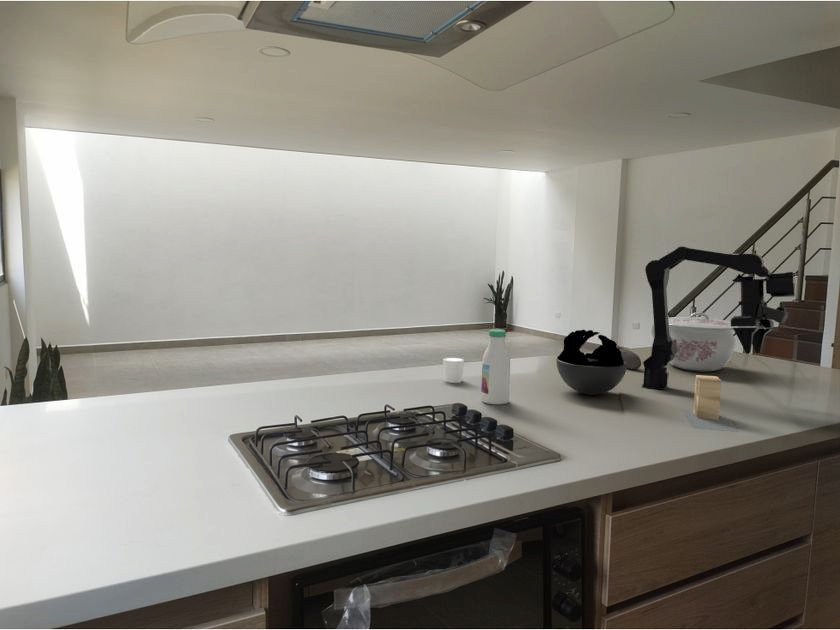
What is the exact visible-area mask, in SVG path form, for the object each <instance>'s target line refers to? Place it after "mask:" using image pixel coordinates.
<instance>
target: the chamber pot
mask: <svg viewBox="0 0 840 630" xmlns="http://www.w3.org/2000/svg"><path fill="white" fill-rule="evenodd" d="M668 321H669V334H670V336H671V339H672V340H675V339H676V340H677V343H676V348H677V351H678V352H677V353H676V354H675V358H674V359H673V360H672V361H670V362H669V363H668V364H670V365H672V367H673V366H674V367H675V368H678V369H681V370H685V371H690V372H698V373H699V372H700V373H703V372H704V373H710V372H714V371H720V370H721V369H723V368H724V367H725V366H726V365H727V364H728V362H729V361H730V360H731V359H732V357H733V354H734V351H735V347H736V338H735V336H734V334H733V333H734V332H735V331H734V330H733V328H738V326H736V327H733V326H731V321H729V320H725V319H720V318H713V317H709V315H707V314H706V312H701V311H697V312H696V311H695V312H693V313H691V314H690V315H689V316H673V317H672V316H671V317H668ZM650 330H651V335H652V337H653V338H654V336H655V331H654V323H653V324H652V325H651V329H650Z"/></svg>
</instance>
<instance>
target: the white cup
mask: <svg viewBox="0 0 840 630" xmlns="http://www.w3.org/2000/svg"><path fill="white" fill-rule="evenodd" d="M442 364H443V378H444V379H443V380H444V382H445V383H449V384H450V383H451V384H452V383H453V384H454V383H455V384H459V383H462V382H463V377H464V369H465V358H462V357H461V358H460V357H445V358H443V359H442Z"/></svg>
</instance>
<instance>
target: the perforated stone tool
mask: <svg viewBox="0 0 840 630" xmlns="http://www.w3.org/2000/svg"><path fill="white" fill-rule="evenodd" d="M616 347H617V348H619V350H620V351H621V355H622V358H623V361H625V362H627V369H626V370H639V369H640V368H641V367H642V360H641V358H640V356H639V355H638V354H637V353H635V352H633V351H631V350H630V349H627V348H623V347H621V346H616Z"/></svg>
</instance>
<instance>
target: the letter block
mask: <svg viewBox="0 0 840 630" xmlns="http://www.w3.org/2000/svg"><path fill="white" fill-rule="evenodd" d="M721 390H722V380H721V379H720V378H719V377H718V376H717V375H716V376H714V375H702V374H699V375H698V374H696V375H695V383H694V398H693V409H692V410H693V413H694V414H695V416H696V417H697V418H707V419H718V418H719V412H720V407H721V406H720V404H721V395H722V394H721V392H722V391H721Z"/></svg>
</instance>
